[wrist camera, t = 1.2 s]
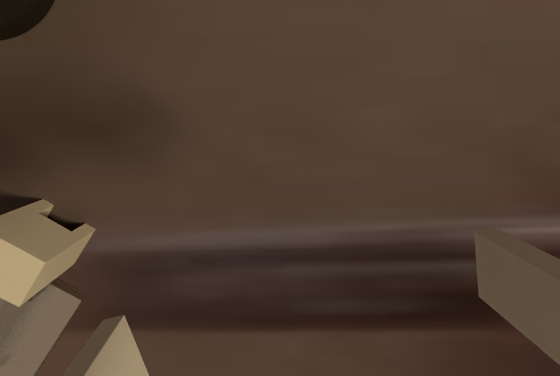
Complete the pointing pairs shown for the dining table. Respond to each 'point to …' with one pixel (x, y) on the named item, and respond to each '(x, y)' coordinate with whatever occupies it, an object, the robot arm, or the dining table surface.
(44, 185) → the dining table surface
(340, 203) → the dining table surface
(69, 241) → the block
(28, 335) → the rail board
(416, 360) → the dining table surface
